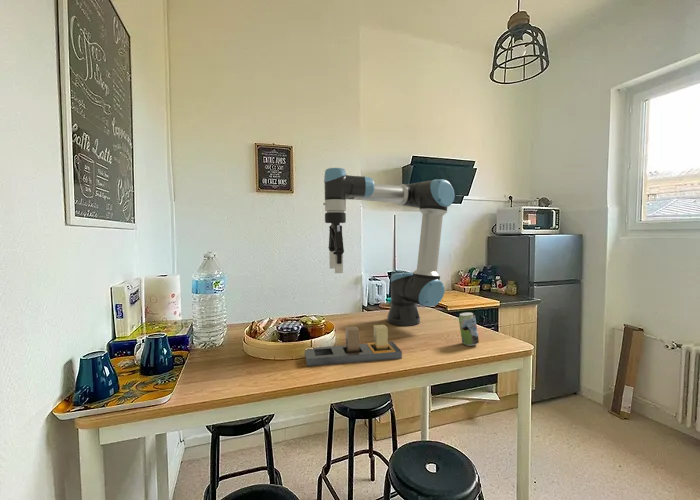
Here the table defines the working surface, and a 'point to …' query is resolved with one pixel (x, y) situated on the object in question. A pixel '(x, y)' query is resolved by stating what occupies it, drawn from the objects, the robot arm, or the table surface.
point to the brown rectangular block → (352, 340)
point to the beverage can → (468, 329)
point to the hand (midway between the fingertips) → (335, 270)
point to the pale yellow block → (380, 338)
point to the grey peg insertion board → (350, 354)
